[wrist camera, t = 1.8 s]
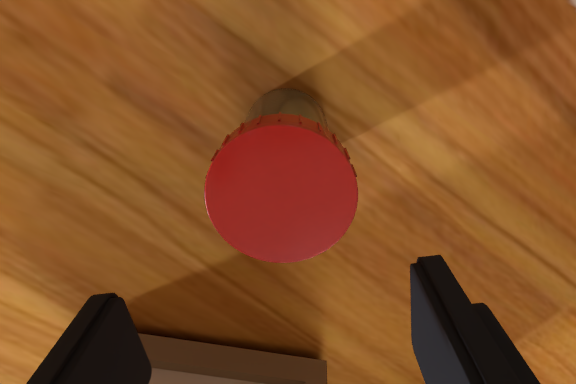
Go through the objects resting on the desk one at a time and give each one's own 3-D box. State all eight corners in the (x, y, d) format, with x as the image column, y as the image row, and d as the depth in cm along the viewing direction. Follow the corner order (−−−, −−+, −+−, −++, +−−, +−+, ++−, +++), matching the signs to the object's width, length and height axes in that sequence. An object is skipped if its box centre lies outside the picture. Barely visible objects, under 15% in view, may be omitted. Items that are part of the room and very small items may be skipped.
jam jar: (262, 75, 25) (241, 114, 15) (339, 106, 26) (366, 162, 16) (235, 150, 27) (203, 225, 17) (307, 176, 28) (314, 262, 18)
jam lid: (237, 88, 16) (230, 97, 14) (378, 144, 17) (387, 159, 15) (195, 216, 19) (185, 236, 17) (319, 258, 20) (321, 281, 18)
